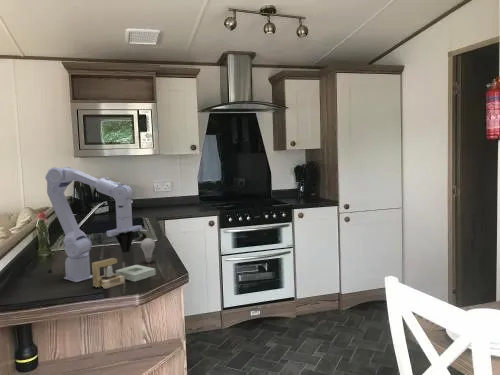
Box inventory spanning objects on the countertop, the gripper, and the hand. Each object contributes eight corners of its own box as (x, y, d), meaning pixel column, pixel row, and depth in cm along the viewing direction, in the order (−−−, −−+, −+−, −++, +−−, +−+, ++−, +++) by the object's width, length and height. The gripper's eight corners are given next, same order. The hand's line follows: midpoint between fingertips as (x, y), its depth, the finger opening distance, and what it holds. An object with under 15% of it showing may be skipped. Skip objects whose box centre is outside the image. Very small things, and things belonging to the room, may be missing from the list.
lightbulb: (141, 265, 172) (140, 240, 171) (141, 261, 178) (140, 237, 177) (156, 263, 174) (155, 239, 173) (155, 260, 180) (154, 236, 179)
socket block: (93, 285, 145) (92, 278, 145) (112, 279, 152) (111, 273, 152) (105, 288, 141) (105, 281, 140) (124, 282, 147) (124, 276, 147)
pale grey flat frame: (115, 276, 155) (115, 270, 155) (136, 270, 163) (136, 264, 163) (134, 281, 148) (134, 275, 148) (155, 275, 156) (155, 268, 156)
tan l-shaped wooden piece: (93, 286, 143) (91, 262, 142) (113, 280, 149) (112, 257, 149) (97, 287, 141) (96, 263, 140) (118, 281, 148) (117, 258, 147)
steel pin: (102, 284, 146) (101, 265, 145) (110, 282, 148) (109, 263, 148) (107, 285, 144) (106, 266, 144) (114, 283, 146) (113, 265, 146)
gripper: (113, 220, 143) (115, 257, 144) (146, 215, 154) (147, 249, 155) (102, 218, 147) (104, 254, 148) (134, 214, 159) (136, 247, 159)
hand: (125, 251), depth 152 cm, fingers closed
